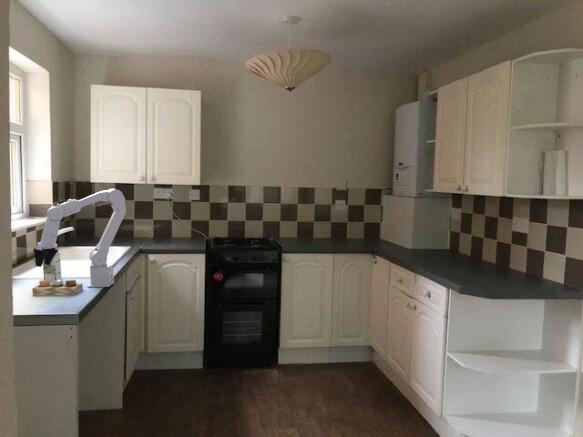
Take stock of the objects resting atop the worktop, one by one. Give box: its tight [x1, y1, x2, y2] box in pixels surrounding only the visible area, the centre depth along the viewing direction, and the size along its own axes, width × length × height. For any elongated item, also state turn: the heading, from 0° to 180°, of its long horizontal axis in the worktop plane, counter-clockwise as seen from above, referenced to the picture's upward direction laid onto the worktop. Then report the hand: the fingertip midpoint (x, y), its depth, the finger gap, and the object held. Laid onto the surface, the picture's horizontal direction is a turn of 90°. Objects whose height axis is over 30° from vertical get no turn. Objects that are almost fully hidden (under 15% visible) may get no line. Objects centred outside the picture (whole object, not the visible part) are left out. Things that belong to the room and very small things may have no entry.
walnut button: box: [65, 279, 77, 287], centre depth 207 cm, size 4×4×2 cm
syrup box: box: [42, 251, 63, 283], centre depth 221 cm, size 6×6×14 cm
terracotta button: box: [38, 279, 50, 287], centre depth 206 cm, size 4×4×2 cm
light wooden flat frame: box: [31, 282, 84, 296], centre depth 207 cm, size 17×9×3 cm, turn 92°
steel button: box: [52, 279, 64, 287], centre depth 207 cm, size 4×4×2 cm
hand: (42, 265), depth 207 cm, fingers open, 7 cm apart
